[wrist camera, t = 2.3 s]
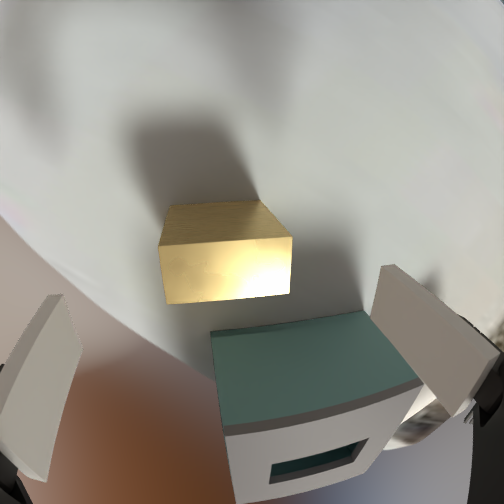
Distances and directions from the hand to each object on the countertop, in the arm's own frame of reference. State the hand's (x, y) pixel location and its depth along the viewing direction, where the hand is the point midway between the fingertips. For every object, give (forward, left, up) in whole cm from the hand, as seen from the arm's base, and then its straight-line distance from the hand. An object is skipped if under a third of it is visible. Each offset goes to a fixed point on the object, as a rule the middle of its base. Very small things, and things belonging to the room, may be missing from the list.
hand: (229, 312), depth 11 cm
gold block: (0, 0, -10) cm, 10 cm away
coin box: (+17, +6, -10) cm, 20 cm away
